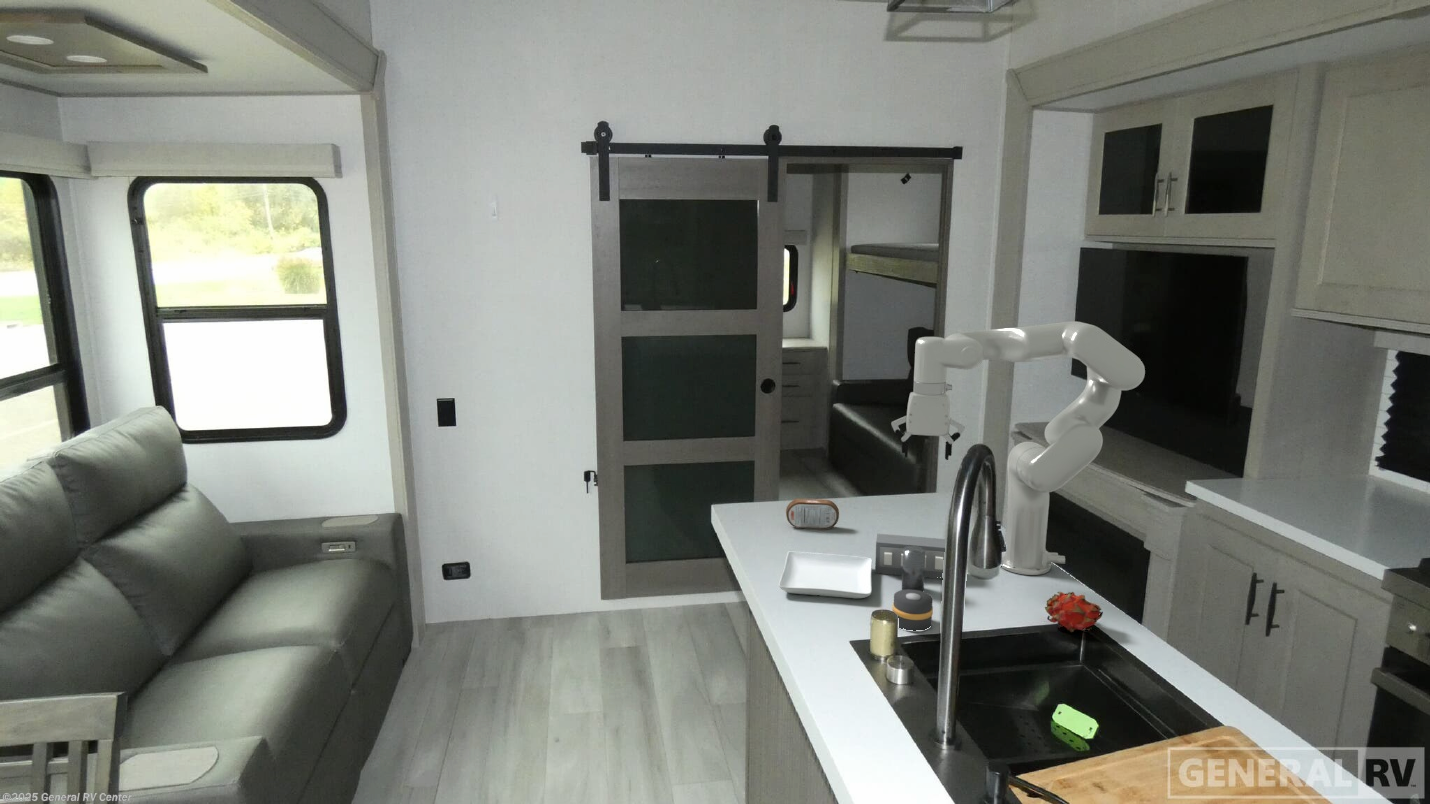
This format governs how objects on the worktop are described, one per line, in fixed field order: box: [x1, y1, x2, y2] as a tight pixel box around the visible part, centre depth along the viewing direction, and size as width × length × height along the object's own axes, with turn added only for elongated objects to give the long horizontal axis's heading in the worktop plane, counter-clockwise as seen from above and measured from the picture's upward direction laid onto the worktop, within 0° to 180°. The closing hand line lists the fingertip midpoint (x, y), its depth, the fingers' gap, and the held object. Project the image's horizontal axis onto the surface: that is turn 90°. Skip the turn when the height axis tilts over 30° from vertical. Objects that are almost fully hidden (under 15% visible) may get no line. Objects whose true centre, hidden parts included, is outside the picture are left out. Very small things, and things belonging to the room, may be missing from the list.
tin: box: [785, 498, 840, 530], centre depth 228 cm, size 15×3×8 cm, turn 84°
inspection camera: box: [901, 546, 926, 592], centre depth 187 cm, size 5×5×10 cm
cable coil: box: [892, 589, 934, 631], centre depth 171 cm, size 8×8×6 cm
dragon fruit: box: [1044, 591, 1104, 633], centre depth 169 cm, size 8×8×12 cm
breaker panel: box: [874, 533, 946, 580], centre depth 197 cm, size 18×8×8 cm, turn 76°
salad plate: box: [778, 550, 873, 599], centre depth 193 cm, size 21×21×3 cm
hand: (926, 457), depth 196 cm, fingers open, 9 cm apart
